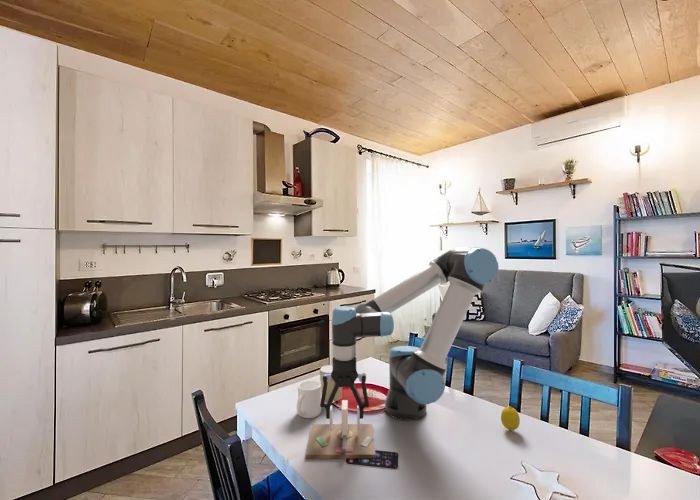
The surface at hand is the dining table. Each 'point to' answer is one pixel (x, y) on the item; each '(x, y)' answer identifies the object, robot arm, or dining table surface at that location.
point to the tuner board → (340, 442)
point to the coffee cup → (329, 383)
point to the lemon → (510, 418)
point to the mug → (309, 399)
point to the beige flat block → (344, 423)
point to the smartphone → (377, 460)
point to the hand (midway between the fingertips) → (344, 428)
